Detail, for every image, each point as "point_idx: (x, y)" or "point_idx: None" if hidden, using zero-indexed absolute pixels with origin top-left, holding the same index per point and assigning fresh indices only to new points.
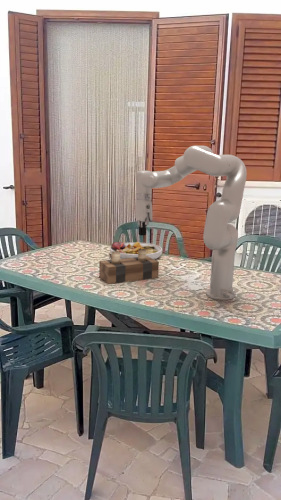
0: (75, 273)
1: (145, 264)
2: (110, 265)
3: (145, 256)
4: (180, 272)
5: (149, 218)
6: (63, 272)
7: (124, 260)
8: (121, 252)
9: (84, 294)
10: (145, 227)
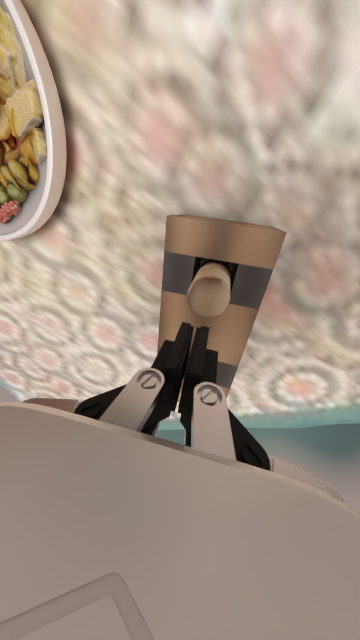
0: (125, 373)
1: (261, 298)
2: None
3: (229, 282)
4: (284, 47)
5: (301, 582)
6: (112, 384)
7: None
8: (5, 214)
9: (249, 425)
10: (215, 392)
